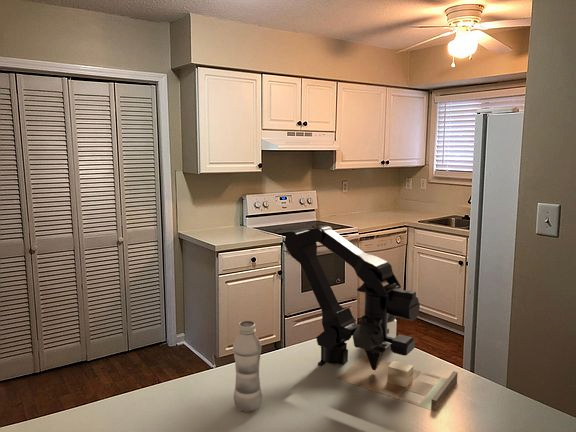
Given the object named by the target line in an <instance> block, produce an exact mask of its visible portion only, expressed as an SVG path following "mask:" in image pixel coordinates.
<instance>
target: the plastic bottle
mask: <svg viewBox="0 0 576 432" xmlns="http://www.w3.org/2000/svg"><path fill="white" fill-rule="evenodd" d="M256 332H257V331H256V322H254V321H252V320H243V321H240V322H239V323H238V333H239V334H238V335H237V337H236V338H235V340H234V341H233V345H232V351H233V356H234V361H235V362H234V364H235V366H234V367H235V384H234V391H233V402H234V405H235V407H236V408H237V409H238V410H239V411H241V412H245V413H247V412H248V413H250V412H254V411H256V410H257V409H259V408H260V407H261V405H262V401H263V393H262V387H261V381H260V380H261V378H260V360H261V352H262V343H261V340H260V339H259V337H258V336H257V335H256Z"/></svg>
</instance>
